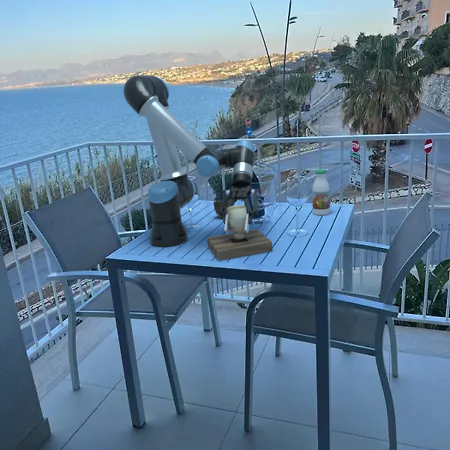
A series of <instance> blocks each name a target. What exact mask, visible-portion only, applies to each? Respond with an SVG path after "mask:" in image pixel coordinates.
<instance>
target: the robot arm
mask: <svg viewBox="0 0 450 450" xmlns="http://www.w3.org/2000/svg"><path fill="white" fill-rule="evenodd" d="M123 97H124V99H125V101H126V102H127V104H128V105H129V107H130V108H131V109H133V110H134V112H135V113H136V114H137V115H139V116H140V117H144V118H145V119H146V122H147V125H148V126H147V127H148V129H149V133H150V137H151V140H152V143H153V147H154V150H155V153H156V157H157V160H158V164H159V167H160V171H161V177H160V179H159V182H155V183H153V184H151V185H150V186H149V188H148V189H147V193H148V195H147V199H148V203H149V209H150V216H151V222H152V225H151V230H150V231H151V232H150V236H149V239H150V245H152V246H153V247H159V248H163V247H164V248H166V247H167V248H168V247H172V246H173V247H175V246H179V245H181V244H183V243H186V241H188V240H189V237H188V231H187V230H186V227H185V226H184V223H183V221H182V214H181V208H183V207H185V206H186V205H188V204H189V203H190V202H191V201H192V200H193V198H194V196H195V192H196V188H195V184H194V182H193V181H192V180H191V179H190V178H189V177H188V173H187V171H185V170H184V169H183V168H182V164H181V161H180V158H179V153H178V150H179V151H180V152H182V153H183V154H184V155H185V156H186V157H187V158H188V159H189V160H190V161H191V162H192V163H194V164H195V166H196V170H197V173H198V174H199V175H200V176H203V177H207V178H208V177H212V176H215V175H216V174H217V173H218V172H220V171H221V170H223V169H230V168H233V170H232V171H233V172H232V178H231V187H230V188H229V189H222V198H221V200H222V201H221V200H220V201H221V205H220V209H219V213H220V214H221V216H223V218H222V223H223V225H224V229H223V231H224V232H225V234H229V231H230V230H229V222H228V212H227V208H228V207H231V206H235V204H236V203H237V201H239V200H241V201H244V203H245V206H246V210H247V214H246V222H245V232H246V233H248V231H250V225H252V224H253V218H254V216H258V215H259V203H258V197H259V195H260V192H259V189H258V188H255V189H254V188H252V182H253V181H252V180H253V173H254V161H255V156H256V154H255V144H254V143H253V142H251V141H249V140H244V139H243V140H240V141H238V142H237V143H236V146H235V147H232V148H224V149H222V148H220V149H212V150H210V149H209V148H208V147H207V146H206V145H205V144H204V143H203V142H202V141H201V140H200V139H199V138H198V137H197V136H195V135H194V133H192V132H191V130H189V129H188V128H187V127H186V126H185V125H184V124H183V123H182V122H181V121H180V120H178V119H177V118H176V117H175V115H173V113H171V112H170V111H169V108H170V106H169V101H168V100H169V97H170V89H169V86H168V84H167V83H166V81H165V80H164V79H162V78H161V77H159V76H155V75H134V76H131V77H129V78H128V79H127V80H126V81H125V84H124V86H123ZM177 149H178V150H177ZM251 194H252V196H253V197H252V201H253V202H252V203H253V210H252V207H251V204H250V200H249V196H250V195H251ZM230 195H231V196H230ZM229 196H230V199H229V198H228V197H229ZM228 200H229V203H228V205H227V207H226V203H227V201H228ZM225 207H226V209H225Z"/></svg>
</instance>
